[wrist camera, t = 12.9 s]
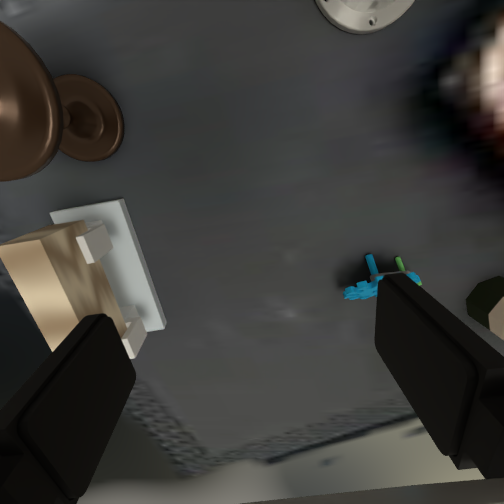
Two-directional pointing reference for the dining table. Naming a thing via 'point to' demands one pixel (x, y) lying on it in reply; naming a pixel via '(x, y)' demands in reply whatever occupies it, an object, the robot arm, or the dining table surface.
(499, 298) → the wine bottle
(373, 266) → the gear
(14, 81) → the candlestick
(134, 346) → the cradle
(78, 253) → the rail
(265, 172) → the dining table surface
